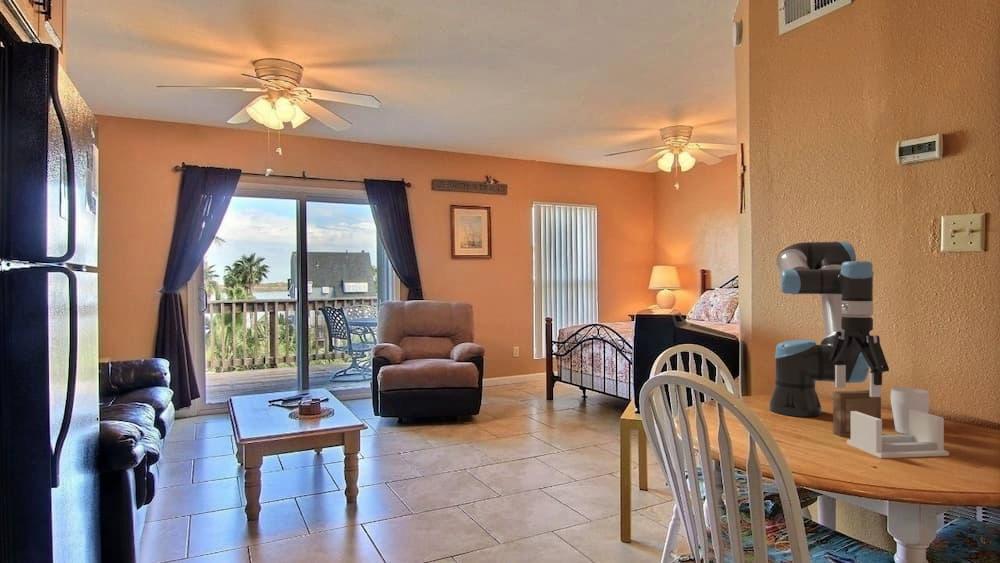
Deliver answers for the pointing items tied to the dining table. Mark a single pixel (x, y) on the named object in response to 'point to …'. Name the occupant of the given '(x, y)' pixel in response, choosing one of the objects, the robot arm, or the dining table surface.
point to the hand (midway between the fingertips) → (857, 392)
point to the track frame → (899, 436)
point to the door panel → (852, 409)
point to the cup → (907, 405)
